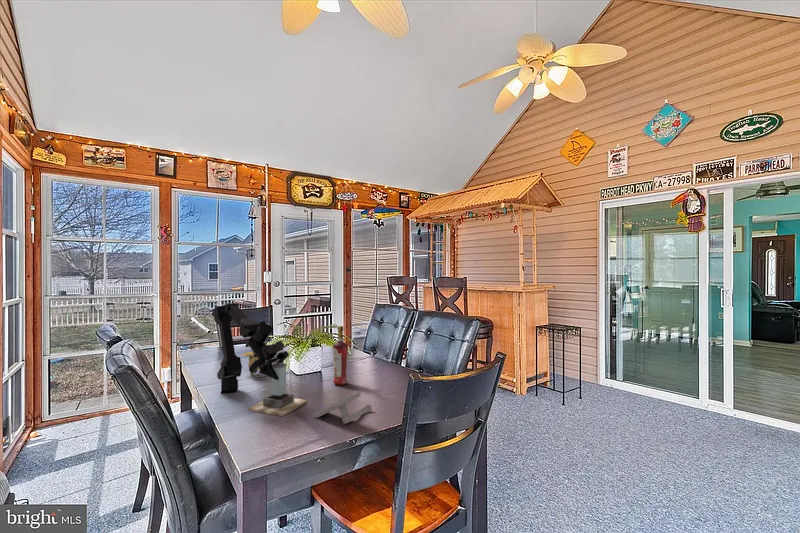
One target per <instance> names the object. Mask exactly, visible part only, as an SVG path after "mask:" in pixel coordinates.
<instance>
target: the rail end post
mask: <svg viewBox="0 0 800 533" xmlns="http://www.w3.org/2000/svg"><path fill="white" fill-rule="evenodd" d="M272 368H273V369H274V371H275V372H276V374H277V376H278V378H279V379H278V380H275V379H273V378H271V387H270V388H271V391H270V392H271V394H270V395H277V396H280V395H282V394H285V393H287V363H284V362H283V363H276V364H272Z"/></svg>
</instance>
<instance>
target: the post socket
mask: <svg viewBox="0 0 800 533" xmlns="http://www.w3.org/2000/svg"><path fill="white" fill-rule="evenodd" d="M307 402H308V400H307V399H304V398H303V399H302V398H295V395H294V393H293V394H291V393H287V392H286V393H285V394H282V395H280V396H277V395H271V394H270V395H267V396H266V397H264V398H262V401H260V402H258V403H256V404H254V405H252V406H250V407H248V411H251V412H257V413H263V414H268V415H273V416H280V417H283V416H285V415H287V414H288V413H290V412H292V411H294V410H296V409H298V408H299V407H301V406H303V405H305V404H306V403H307Z"/></svg>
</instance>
